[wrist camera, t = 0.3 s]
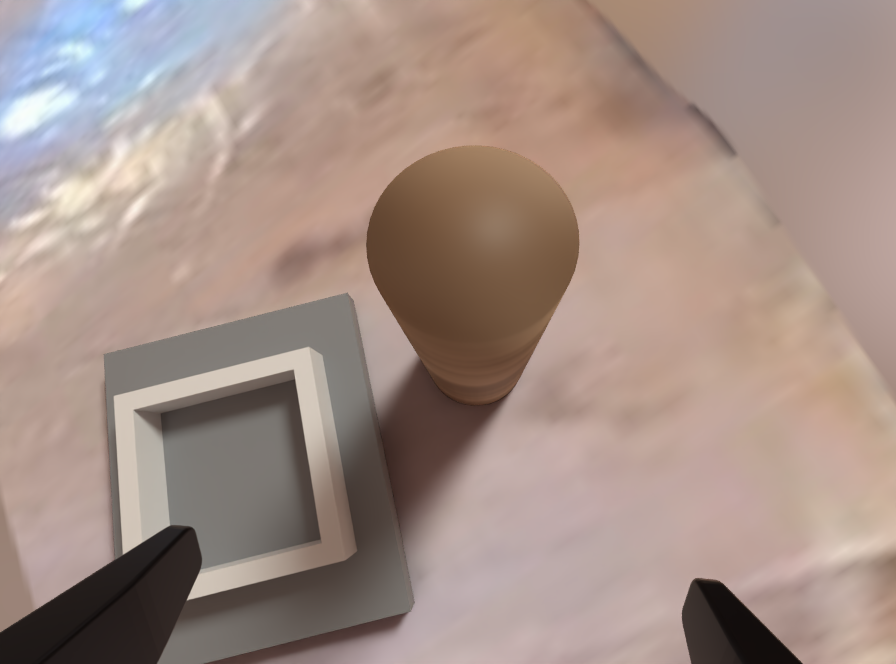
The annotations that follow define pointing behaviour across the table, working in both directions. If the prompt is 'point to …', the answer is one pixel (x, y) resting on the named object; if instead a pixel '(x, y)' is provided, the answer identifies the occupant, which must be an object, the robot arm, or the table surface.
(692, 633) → the robot arm
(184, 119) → the table surface
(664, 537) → the table surface
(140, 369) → the grey framed base plate
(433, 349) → the walnut post
